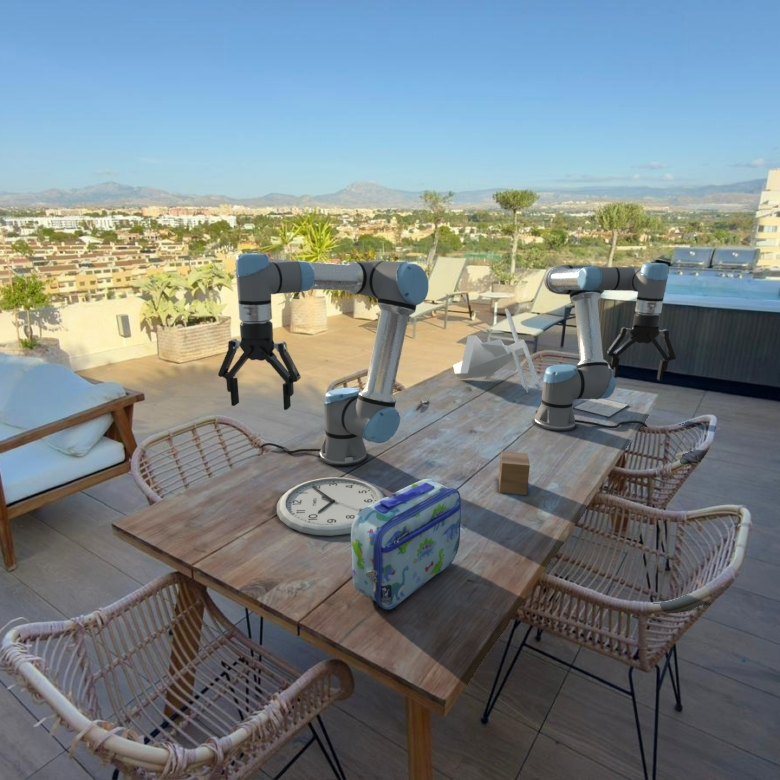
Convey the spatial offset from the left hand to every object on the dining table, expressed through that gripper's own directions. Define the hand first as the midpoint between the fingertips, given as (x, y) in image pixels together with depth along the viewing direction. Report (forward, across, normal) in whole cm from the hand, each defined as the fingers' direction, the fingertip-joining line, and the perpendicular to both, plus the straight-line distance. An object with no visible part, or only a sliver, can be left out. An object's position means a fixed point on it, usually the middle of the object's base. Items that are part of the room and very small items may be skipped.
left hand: (261, 406), depth 130 cm
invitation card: (+30, +107, +111) cm, 157 cm away
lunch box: (+30, +40, -21) cm, 54 cm away
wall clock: (+30, +16, +7) cm, 35 cm away
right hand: (+3, +104, +60) cm, 120 cm away
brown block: (+30, +65, +28) cm, 77 cm away
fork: (+30, +31, +96) cm, 105 cm away
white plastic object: (+30, +61, +131) cm, 148 cm away
